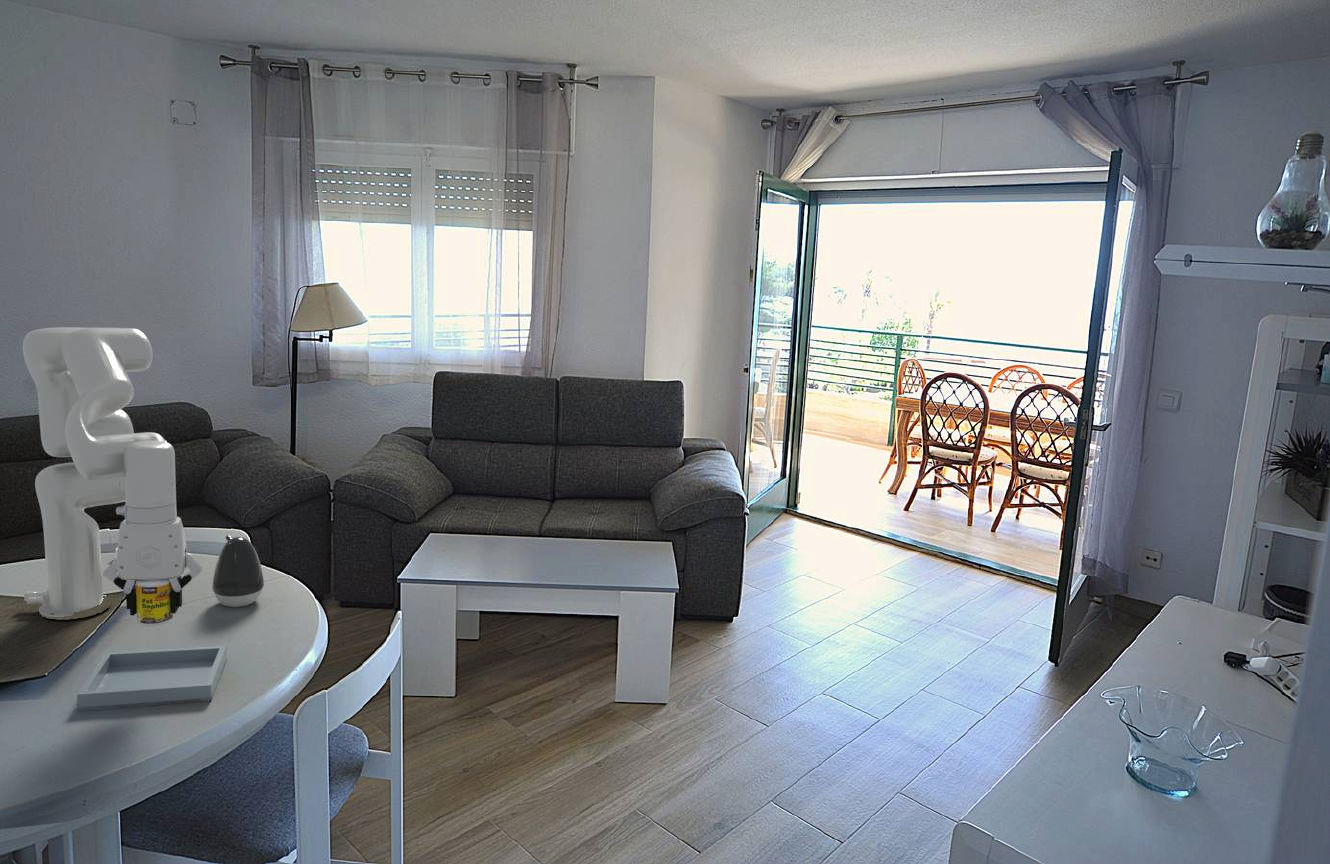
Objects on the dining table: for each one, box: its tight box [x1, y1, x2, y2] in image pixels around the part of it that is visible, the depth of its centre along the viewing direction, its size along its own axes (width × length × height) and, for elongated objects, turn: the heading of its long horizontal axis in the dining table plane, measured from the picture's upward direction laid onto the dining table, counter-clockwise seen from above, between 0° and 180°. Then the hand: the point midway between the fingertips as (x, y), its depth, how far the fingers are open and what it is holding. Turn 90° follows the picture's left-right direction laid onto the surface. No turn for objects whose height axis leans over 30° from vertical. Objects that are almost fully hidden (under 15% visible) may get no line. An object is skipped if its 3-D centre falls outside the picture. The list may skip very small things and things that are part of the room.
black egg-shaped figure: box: [212, 534, 265, 608], centre depth 190 cm, size 10×10×15 cm
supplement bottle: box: [135, 579, 174, 628], centre depth 151 cm, size 6×6×10 cm
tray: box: [76, 645, 228, 712], centre depth 154 cm, size 20×16×3 cm
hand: (155, 610), depth 152 cm, fingers closed on supplement bottle, 5 cm apart
